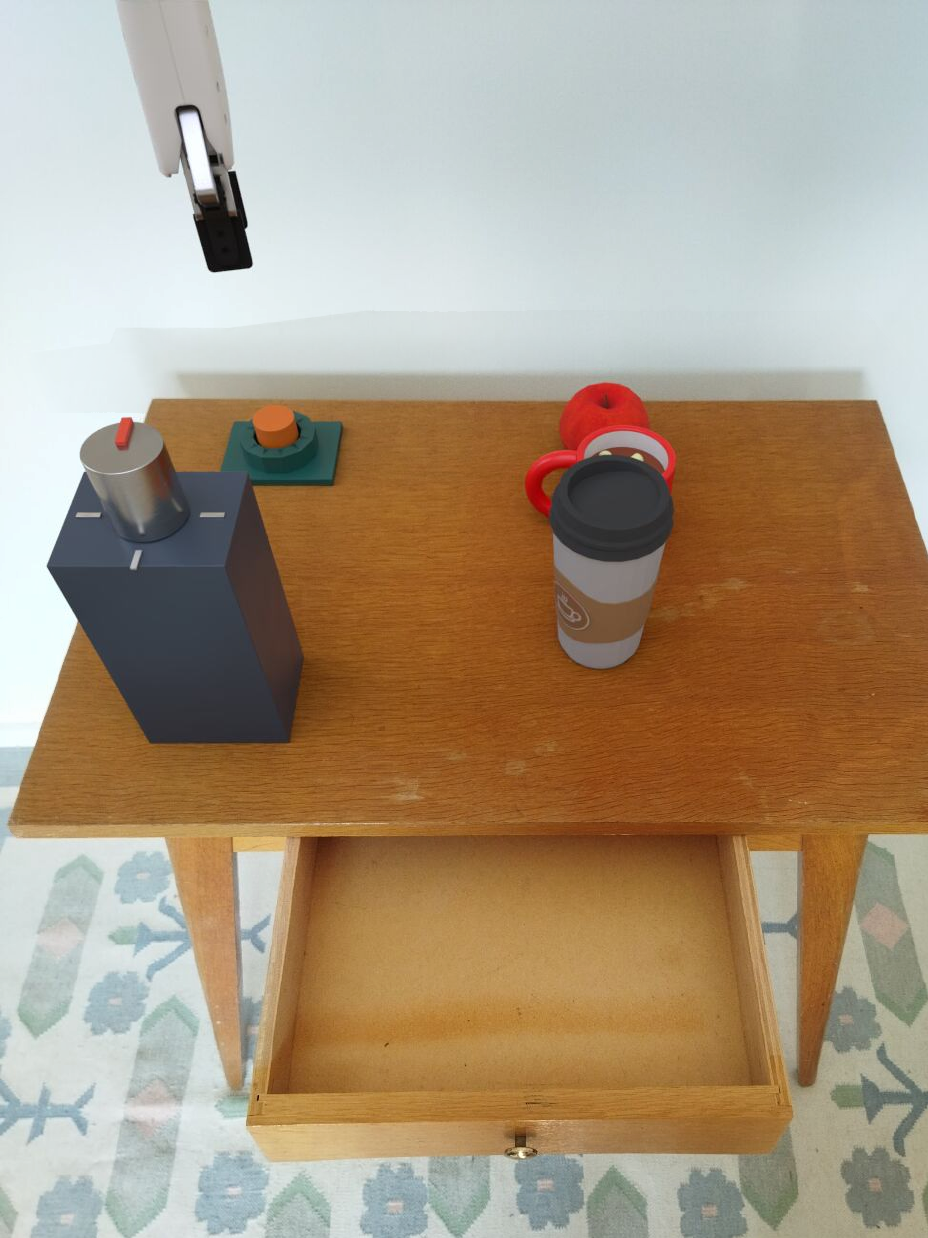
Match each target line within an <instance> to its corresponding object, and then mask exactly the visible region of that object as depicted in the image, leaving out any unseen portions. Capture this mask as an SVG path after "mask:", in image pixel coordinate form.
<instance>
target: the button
mask: <svg viewBox="0 0 928 1238" xmlns="http://www.w3.org/2000/svg"><path fill="white" fill-rule="evenodd" d="M293 411H294V410H292V409H291V408H289V407H288V406H285V405H280V404H271V405H267V406H264V407H262V408H260V409H259V410H257V411H256V412H255V413H254V414H253V416H252V418H253V425H254V428H255V432H256V435H257V439H258V442H259V444H260V445H261V446H263V447H265V448H283V447H286V446H289V445H292V444H293V443H294V442H295V441H296V440H297V439H298V436H299V433H298V429H297V425H296V420H295V416H294V413H293Z"/></svg>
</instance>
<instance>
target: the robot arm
mask: <svg viewBox="0 0 928 1238" xmlns="http://www.w3.org/2000/svg"><path fill="white" fill-rule="evenodd" d="M115 4H116V10H117V15H118V18H119V23H120V28H121V32H122V35H123V40H124V45H125V48H126V52H127V56H128V60H129V64H130V67H131V71H132V74H133V78H134V82H135V85H136V89H137V93H138V96H139V100H140V104H141V108H142V111H143V114H144V119H145V123H146V126H147V129H148V133H149V137H150V140H151V144H152V148H153V151H154V155H155V159H156V164H157V167H158V171H159V173H160V174H161V175H163V176H164V177H165V178H172V176H173V175H177V174H179V169H180V164H181V167H182V171H183V176H184V178H185V182H186V186H187V189H188V190H187V191H188V194H189V198H190V203H191V205H192V210H193V213H192V218H193V222H194V225H195V229H196V233H197V236H198V239H199V243H200V247H201V250H202V253H203V257H204V260H205V264H206V268H207V270H208V271H209V272H210V273H223V272H224V273H225V272H230V271H231V272H232V271H240V270H249V269H251V268H252V267H253V265H254V262H253V257H252V252H251V249H250V248H251V247H250V244H249V239H248V236H247V230H246V229H248V226H249V222H248V217H247V214H246V209H245V205H244V204H245V203H244V201H243V195H242V192H241V188H240V183H239V180H238V175H237V171H236V170H232V169H233V166H234V165H235V155H234V153H235V152H234V145H233V142H234V141H233V130H232V122H231V113H230V105H229V98H228V91H227V86H226V80H225V73H224V68H223V63H222V59H221V58H222V57H221V53H220V48H219V43H218V39H217V34H216V30H215V24H214V20H213V15H212V11H211V6H210V2H209V0H115Z"/></svg>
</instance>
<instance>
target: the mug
mask: <svg viewBox="0 0 928 1238" xmlns="http://www.w3.org/2000/svg"><path fill="white" fill-rule="evenodd" d="M599 455H622V456H628V457H633V458H635V459H638V460H641V461H643V462H646V463H647V464H649V465H650V466H652V467H653V468H655V469H656V470H657V471H658V472H659V473H660V474H661V475H662V476H663V477H664V479H665V481H666V483H667V485H668V487H669V493H670V495H671V496H672V491H673V485H674V484H673V483H674V478H675V473H676V466H677V455H676V453H675V450H674V448H673V446H672V445H671V444H670V443H669V441H668V440H666V438H664V437H663V436H662V435H660V434H658V433H657V432H656V431H653V430H650V429H649V430H648V429H646V428H642V427H638V426H631V425H616V426H609V427H605V428H601V429H599V430H597V431H594V432H593V433H591V434H590V435H588V436H587V437H586V438H585V439H584V440H583V441H582V442H581V444H580V445H579V447H578V450H577V451H573V450H565V449H560V450H559V449H558V450H553V451H551V452H548V453H546V454H544V455H541V456H540V457H539V458H538V459H536V460H535V461H534V462H533V463H532V464H531V466H530V467H529V469H528V470H527V472H526V475H525V478H524V491H525V494H526V497H527V500H528V501H529V503H530V504H531V506H532V507H533V508H534V509H535V510H536V512H538V513H540V514H541V515H543V516H545V517H547V518H549V510H550V508H551V499H552V498H550V497H549V496H548V495H547V494H546V492H545V490H544V489H543V481H544V479H545V478H546V477H547V476H548V475H549V474H550V473H553V472H555V471H557V470H562V469H569V468H570V467H571V466H573V465H574V464H576V463H577V462H579V461H581V460H584V459H587V458H589V457H593V456H599Z"/></svg>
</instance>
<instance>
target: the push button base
mask: <svg viewBox="0 0 928 1238" xmlns="http://www.w3.org/2000/svg"><path fill="white" fill-rule="evenodd" d="M292 411H293V413H294V416H295V420H296V425H297V429H298V433H299V436H298V439H297V440H296V441H295V442H294V443H293V444H292V445H289V446H286V447H283V448H265V447H263V446H261V445H260V444H259V442H258V439H257V435H256V432H255V428H254V425H253V417H252V418H251V419H250V420H248V421H246V420H245V421H243V420H242V421H239V420H237V421H233V423H232V427H231V430H230V434H229V438H228V440H227V444H226V448H225V452H224V455H223V456H224V457H223V459H222V463H221V467H220V471H219V472H248V473H249V477H250V480H251V483H252V486H334V484H335V483H334V482H335V477H336V472H337V465H338V459H339V453H340V448H341V441H342V436H343V429H344V425H343V421H335V420H334V421H332V420H331V421H330V420H329V421H325V420H324V421H319V420H318V421H311V419H310V418H309V417H308V416H307V415H305V414H302V413H300V412H298V411H295V410H292Z"/></svg>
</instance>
